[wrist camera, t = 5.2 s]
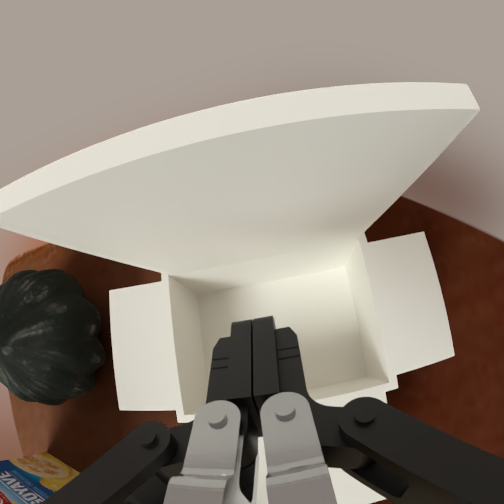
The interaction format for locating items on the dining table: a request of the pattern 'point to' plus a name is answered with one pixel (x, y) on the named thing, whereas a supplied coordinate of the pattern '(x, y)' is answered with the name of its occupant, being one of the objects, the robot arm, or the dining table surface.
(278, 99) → the flap
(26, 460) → the blue tall printed box
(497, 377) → the dining table surface
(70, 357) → the squash
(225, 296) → the carton
